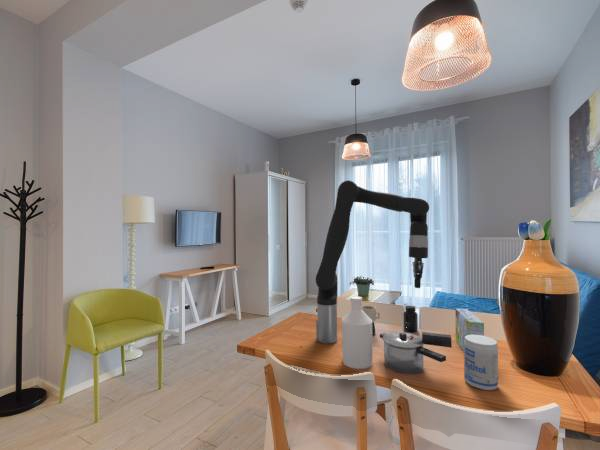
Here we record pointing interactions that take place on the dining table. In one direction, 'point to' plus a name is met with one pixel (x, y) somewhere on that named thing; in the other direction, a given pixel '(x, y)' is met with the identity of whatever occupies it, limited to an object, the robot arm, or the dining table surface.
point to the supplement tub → (481, 362)
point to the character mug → (371, 314)
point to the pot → (407, 358)
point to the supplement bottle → (410, 319)
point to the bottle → (357, 336)
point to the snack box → (467, 325)
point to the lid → (416, 340)
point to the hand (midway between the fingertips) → (417, 287)
